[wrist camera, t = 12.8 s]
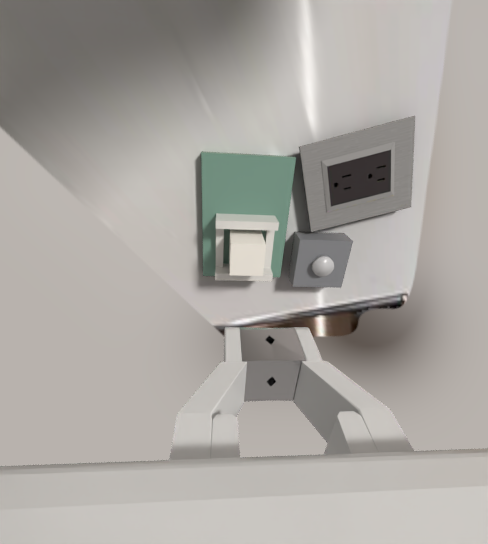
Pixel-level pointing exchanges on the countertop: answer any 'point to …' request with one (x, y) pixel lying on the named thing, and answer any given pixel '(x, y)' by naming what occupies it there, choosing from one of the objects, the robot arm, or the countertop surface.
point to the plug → (246, 252)
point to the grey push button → (319, 259)
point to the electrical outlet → (359, 174)
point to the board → (244, 207)
